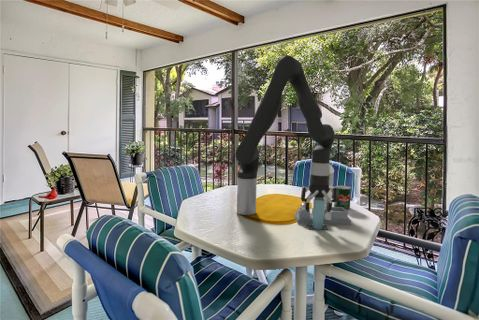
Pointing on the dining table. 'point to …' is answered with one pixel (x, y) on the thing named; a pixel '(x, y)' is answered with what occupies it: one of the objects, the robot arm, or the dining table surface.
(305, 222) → the filter housing
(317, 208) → the blue capsule with label
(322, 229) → the rubber mat
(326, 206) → the water bottle
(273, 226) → the dining table surface
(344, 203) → the canned tomato
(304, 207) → the plunger
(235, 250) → the dining table surface
